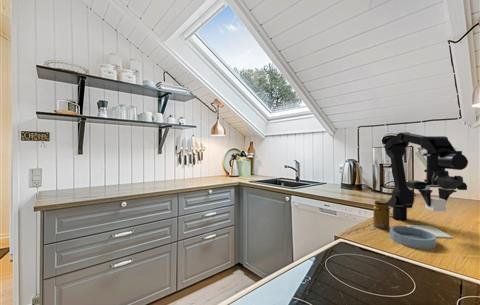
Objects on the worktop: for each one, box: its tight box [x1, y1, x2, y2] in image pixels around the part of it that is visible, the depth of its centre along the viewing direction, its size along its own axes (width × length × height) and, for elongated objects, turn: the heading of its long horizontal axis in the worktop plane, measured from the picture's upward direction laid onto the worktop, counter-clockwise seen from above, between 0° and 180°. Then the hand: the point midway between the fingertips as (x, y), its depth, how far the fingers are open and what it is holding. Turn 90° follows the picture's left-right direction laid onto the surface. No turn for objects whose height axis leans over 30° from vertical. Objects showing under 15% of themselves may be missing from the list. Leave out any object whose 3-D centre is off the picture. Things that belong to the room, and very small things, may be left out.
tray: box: [405, 224, 453, 239], centre depth 95 cm, size 12×10×1 cm
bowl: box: [389, 225, 437, 250], centre depth 86 cm, size 14×14×4 cm
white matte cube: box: [424, 196, 447, 212], centre depth 91 cm, size 4×4×4 cm
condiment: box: [370, 200, 390, 230], centre depth 100 cm, size 7×8×12 cm
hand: (435, 206), depth 91 cm, fingers closed on white matte cube, 4 cm apart
